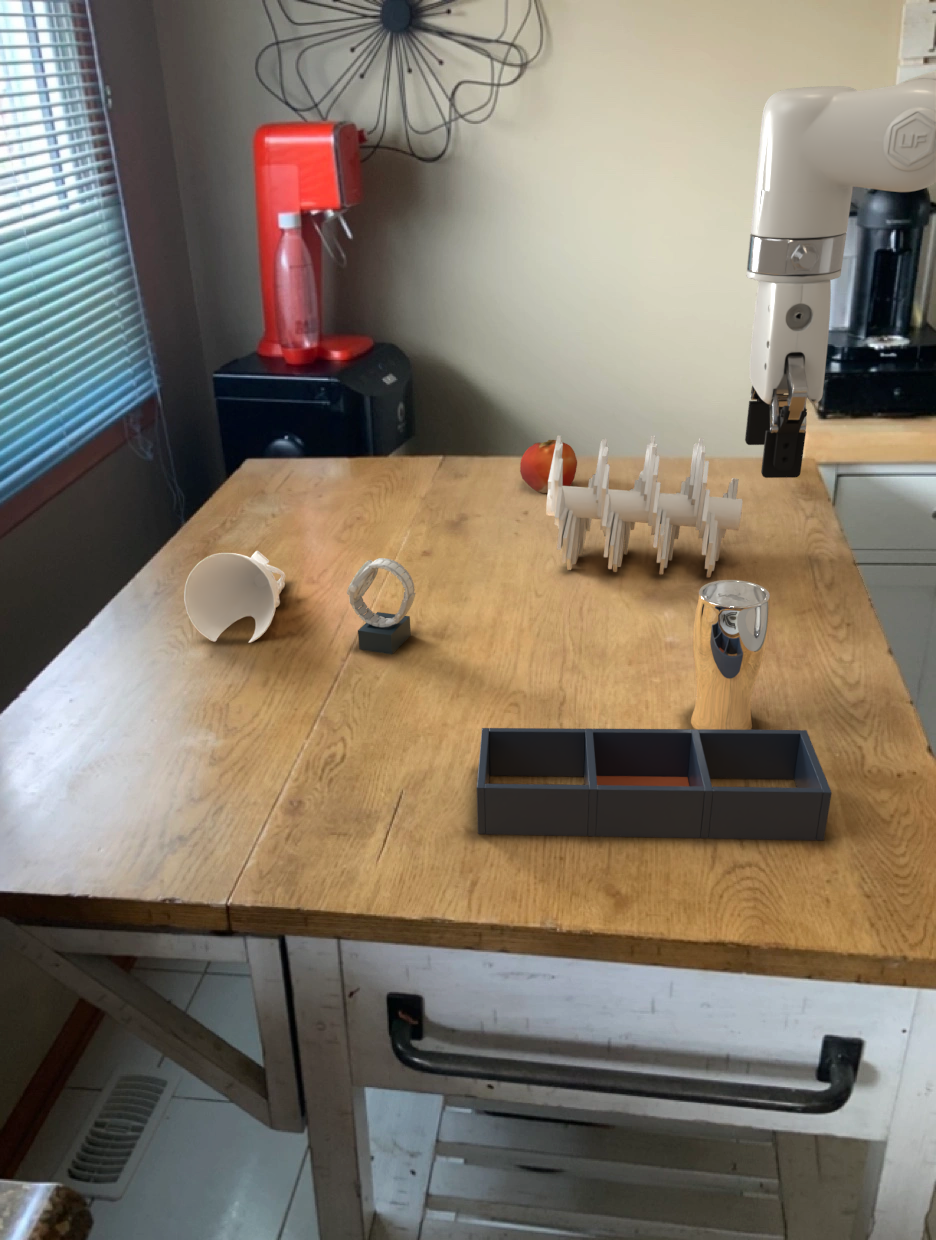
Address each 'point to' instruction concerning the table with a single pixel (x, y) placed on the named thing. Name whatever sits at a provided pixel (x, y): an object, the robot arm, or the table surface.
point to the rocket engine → (232, 592)
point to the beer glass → (728, 652)
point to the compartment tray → (652, 783)
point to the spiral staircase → (640, 508)
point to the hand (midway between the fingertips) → (771, 459)
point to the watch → (381, 627)
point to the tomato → (546, 465)
